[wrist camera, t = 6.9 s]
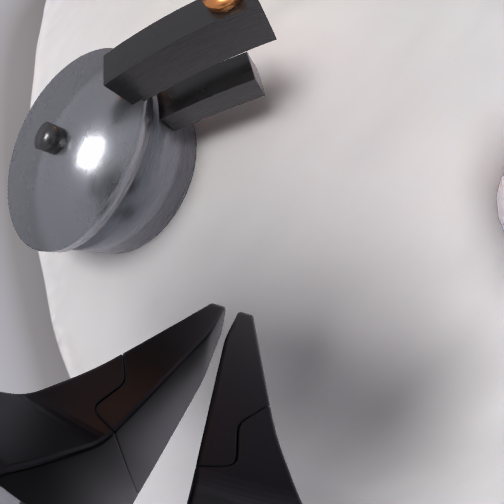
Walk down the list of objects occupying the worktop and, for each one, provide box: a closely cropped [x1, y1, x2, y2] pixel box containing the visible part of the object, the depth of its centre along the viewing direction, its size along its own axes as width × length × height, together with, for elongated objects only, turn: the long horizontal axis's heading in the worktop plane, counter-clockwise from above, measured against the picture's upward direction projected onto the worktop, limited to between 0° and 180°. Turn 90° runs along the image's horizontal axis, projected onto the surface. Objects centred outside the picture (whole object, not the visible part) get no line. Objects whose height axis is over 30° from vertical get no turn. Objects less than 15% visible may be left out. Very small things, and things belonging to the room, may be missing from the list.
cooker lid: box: [8, 0, 276, 252], centre depth 17 cm, size 16×24×4 cm, turn 106°
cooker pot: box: [72, 52, 265, 253], centre depth 22 cm, size 15×24×6 cm, turn 103°
